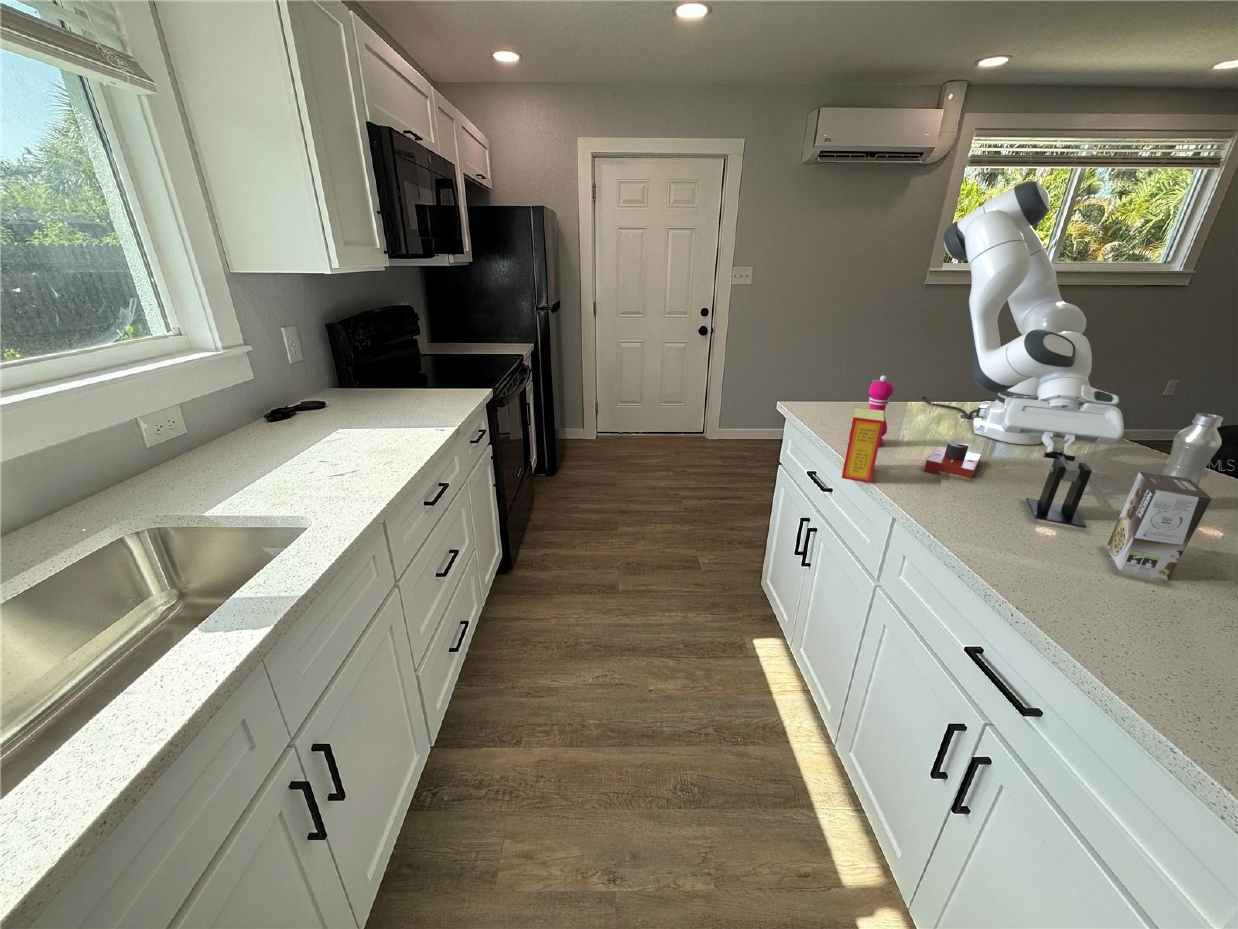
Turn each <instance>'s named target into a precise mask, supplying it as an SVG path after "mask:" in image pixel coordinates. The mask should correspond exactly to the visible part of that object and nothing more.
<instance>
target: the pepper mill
mask: <svg viewBox="0 0 1238 929" xmlns="http://www.w3.org/2000/svg"><path fill="white" fill-rule="evenodd" d="M887 380H888V377H887V376H886V375H884V374H883V375H881V376H880V378H879V380H876V381H874V382H873V383H872V384H870V386H869V388H868V393H869V395H870V396H869V398H868V399H869V400H868V403H869V408H868V409H875V410H884V424H883V429H882V434H881V438H880V443H879V447H881V446H883V442H884V438H883V437H884V436H885V435H886V434H887V433H888V423H887V419H886V416H885V415H886V414H885V413H886V407H887V406H888V405H889V401H890V399H889V398H890V397H892V395H894V394H893V393H894V386H893V384H892V383H890V382H889V381H887Z"/></svg>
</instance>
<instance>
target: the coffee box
mask: <svg viewBox="0 0 1238 929" xmlns="http://www.w3.org/2000/svg"><path fill="white" fill-rule="evenodd" d="M1212 500H1213V498H1212V497H1211V496H1210V495H1209V494H1208V493H1207V492H1205V491H1204V490H1203V489H1202V488H1201V487H1199V485H1198V486H1197V485H1196V484H1195V483H1194V482H1192V481H1191V480H1190V479H1188V478H1183V477H1176V476H1169V475H1161V473H1150V472H1144V471H1138V474H1137V476H1136V478H1135V480H1134V482H1133V485H1132V487H1131V489H1130V492H1129V494H1128V496H1127V498H1126V500H1125V503H1124V506H1123V508H1122V510H1121V512H1120V515H1119V518H1118V519H1117V522H1116V523H1115V526H1114V528H1113V530H1112V533H1111V536H1110V538H1109V540H1108V543H1107V544H1106V548H1107V550H1108V552H1109V554H1110V556H1111V558H1112V560H1113V561H1114V563H1115V565H1116V567H1117V568H1118V570H1119V571H1122V572H1127V573H1131V574H1136V575H1141V576H1145V577H1149V578H1152V579H1153V578H1154V579H1157V580H1162V581H1167V582H1168V581H1169V580H1170V579H1171V577H1172V574H1173V573H1174V571H1175V569H1176V567H1177V565H1178V563H1179V561H1180V560H1181V558H1182V555H1183V553H1184V551H1185V550H1186V548H1187V546H1188V544H1189V543H1190V540H1191V539H1192V537H1193V534H1194V533H1195V531H1196V529H1197V527H1198V526H1199V523H1200V521H1201V520H1202V518H1203V516H1204V514H1205V512H1206V510H1207V508H1208V507H1209V505H1210V503H1211V501H1212Z"/></svg>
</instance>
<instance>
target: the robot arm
mask: <svg viewBox="0 0 1238 929" xmlns="http://www.w3.org/2000/svg"><path fill="white" fill-rule="evenodd" d="M1050 201H1051V200H1050V195H1049V192H1048V190H1047V189H1046V188H1045V187H1044V186H1043V185H1042V184H1040V183H1039V182H1038V181H1036V180H1027V181H1024V182H1021V183H1018V184H1017V185H1015V186H1014V187H1013V188H1011V189H1009V190H1006V191H1005V192H1002V193H1000V194H998V195H996V196H995V197H993V198H990V199H988V200H987V201H985V202H984V203H983V204H982V205H980V206H978V207H977V208H975V209H974V210H972V211H970V212H969V213H968V214H965V216H963V217H962V218H960V219H959V220H956V221H954V222H953V223H952V224H950V225H949V226H948V227H947V228H946V229H945V231H944V233H943V246H944V249H945V251H946V252H947V254H948V255H949V256H951V258H953V259H954V260H957V261H965V260H967V262H968V266H969V270H970V273H971V275H970V276H971V287H970V294H969V297H968V299H967V302H966V304H967V305H966V312H967V320H968V328H969V329H968V330H969V335H970V343H971V352H972V366H971V371H972V372H971V373H972V378H973V380H974V382H975V384H976V385H977V386H978V387H979V388H981V389H983V390H985V391H988V392H992V393H996V394H997V396H996V399H995V400H994V401H993V402H991V403H990V404H986V403H985V404H983V403H982V404H980V405H979V406H978V407H977V409H974V410H971V411H970V412H969V414H968V413H967V411H966V410H964V409H962V408H960V407H958V406H952V405H948V404H941V403H936V404H935V402H931V401H929V400H928V399H927V396H926V395H924V396H922V397H921V399H922V400H923V401H924V402H925V403H926V404H927V405H930V406H935V407H941V408H946V409H952V410H956V411H959V412H961V413H962V414H963V415H964V416H965V418H967V420H968V419H971V418H972V417H973V414H975V417H976V418H973V420H972V428H973V433H974V434H975V435H979V436H983V437H987V438H990V439H992V440H996V441H1000V442H1004V443H1008V444H1009V443H1010V444H1016V445H1028V446H1029V445H1031V446H1033V445H1039V444H1042V443H1043V444H1044V446H1045V447H1046V452H1049V453H1056V454H1063V455H1067V454H1068V448H1069V446H1070V445H1071V444H1073V443H1074V442H1075V441H1076V442H1084V443H1091V444H1099V445H1107V446H1113V445H1114V444H1116V443H1117V442H1119V441H1120V440H1121V439H1122V438H1123V436H1124V435H1125V434H1124V432H1125V423H1124V416H1123V413H1122V411H1121V410H1120V409H1119V408H1118V407H1117V406H1118V404H1119V403H1120V397H1119V396H1118V395H1116V394H1113V393H1110V392H1106V391H1103V390H1101V389H1098V388H1095V387H1093V386H1091V384H1090V381H1089V376H1090V374H1091V373H1092V364H1093V359H1092V358H1093V354H1092V348H1091V344H1090V342H1089V340H1088V338H1087V337H1086V336H1085V335H1084V334H1083V333H1084V332H1085V330H1086V328H1087V318H1086V316H1085V314H1084V313H1083V311H1082V310H1081V309H1080V308H1079V306H1077V305H1075V304H1072V303H1068V302H1065V301H1064V300H1063V298H1062V295H1061V293H1060V289H1059V285H1058V281H1057V272H1056V270H1055V267H1054V265H1053V263H1052V261H1051V259H1050V257H1049V254H1048V253H1047V251H1046V248H1045V247H1044V245H1043V242H1042V240H1041V239H1040V237H1039V236H1038V233H1036V231H1035V230H1034V228H1033V227H1035V228H1037V227H1039V225H1040V223H1041V221H1042V220H1044V219H1045V218H1046V216H1047V214H1048V213H1049V211H1050V204H1051V203H1050ZM1032 226H1033V227H1032ZM1006 302H1007V303H1008V306H1009V309H1010V312H1011V316H1012V318H1013V320H1014V324H1016V327H1017V330H1018V332H1019V333H1020V336H1018V337H1016V338H1014V339H1012V340H1011V341H1009V342H1007V343H1006V344H1004V345H1001V344H1002V343H1001V336H1000V331H999V330H1000V329H999V323H998V320H999V319H998V318H999V315H1000V312H1001V310H1002V308H1003V306H1004V305H1005V304H1006ZM931 403H933V404H931ZM1052 439H1059V440H1062V443H1063V444H1064V445H1063V444H1062V445H1061V444H1055V443H1054V441H1053V440H1052Z"/></svg>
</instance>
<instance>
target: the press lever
mask: <svg viewBox="0 0 1238 929" xmlns="http://www.w3.org/2000/svg"><path fill="white" fill-rule="evenodd" d="M1043 458H1045V459H1053V460H1054V459H1059V460H1061V461H1062V463H1063V464H1064V465H1065V467H1066V468H1065V470H1064V473H1063V476H1062V478H1061V481H1067V482H1072V481H1074V482H1076V481H1077V479H1078V476H1079V474H1080V470H1079V468H1078V465H1072V464H1070V463H1069V462H1075V461H1076V456H1075V455H1071V454H1066V455H1063V454H1056V453H1049V452H1047V451H1045V452H1044V453H1043Z"/></svg>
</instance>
